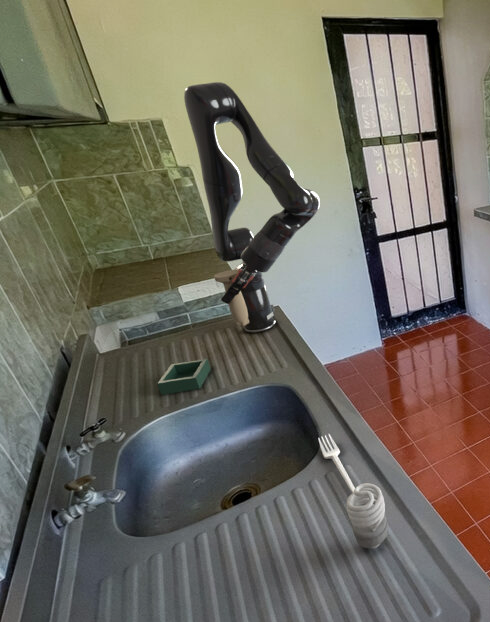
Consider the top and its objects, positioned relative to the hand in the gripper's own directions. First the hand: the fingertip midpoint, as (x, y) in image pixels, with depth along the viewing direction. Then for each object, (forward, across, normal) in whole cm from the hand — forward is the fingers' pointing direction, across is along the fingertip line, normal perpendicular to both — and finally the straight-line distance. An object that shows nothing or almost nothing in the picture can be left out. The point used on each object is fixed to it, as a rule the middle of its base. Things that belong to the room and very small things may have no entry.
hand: (226, 298), depth 122 cm
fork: (-5, +52, +34) cm, 62 cm away
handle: (+4, 0, +7) cm, 8 cm away
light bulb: (-10, +71, +38) cm, 81 cm away
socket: (+24, +5, +4) cm, 25 cm away
